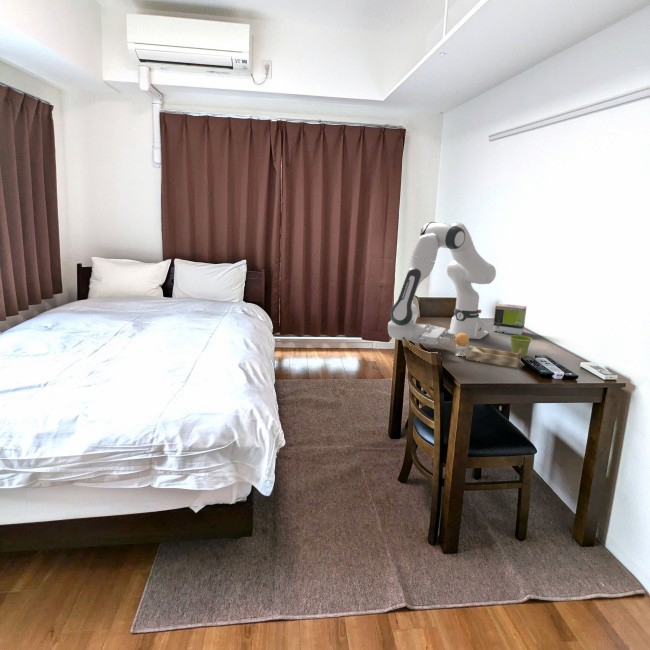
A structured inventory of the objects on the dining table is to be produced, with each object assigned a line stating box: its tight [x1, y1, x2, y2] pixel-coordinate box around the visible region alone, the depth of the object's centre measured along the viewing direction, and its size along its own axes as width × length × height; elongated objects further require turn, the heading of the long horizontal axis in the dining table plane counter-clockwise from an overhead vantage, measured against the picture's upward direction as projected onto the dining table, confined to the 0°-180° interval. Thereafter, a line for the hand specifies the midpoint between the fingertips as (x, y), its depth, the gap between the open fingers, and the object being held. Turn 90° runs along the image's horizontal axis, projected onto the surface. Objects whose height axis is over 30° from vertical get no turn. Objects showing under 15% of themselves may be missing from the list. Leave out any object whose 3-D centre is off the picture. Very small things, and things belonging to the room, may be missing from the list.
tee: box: [455, 344, 468, 358], centre depth 216 cm, size 4×4×5 cm
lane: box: [465, 345, 522, 369], centre depth 210 cm, size 22×9×7 cm, turn 64°
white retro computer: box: [492, 302, 527, 336], centre depth 262 cm, size 15×10×15 cm, turn 62°
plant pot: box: [509, 334, 533, 358], centre depth 219 cm, size 9×9×9 cm
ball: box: [454, 333, 470, 346], centre depth 215 cm, size 6×6×6 cm
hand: (451, 338), depth 217 cm, fingers open, 8 cm apart
